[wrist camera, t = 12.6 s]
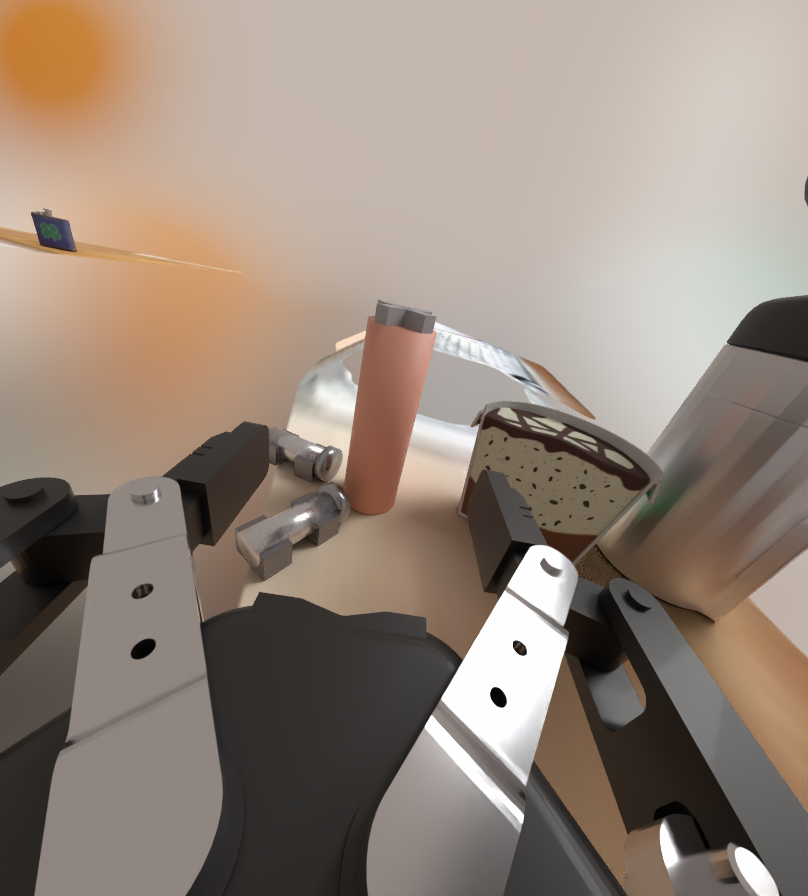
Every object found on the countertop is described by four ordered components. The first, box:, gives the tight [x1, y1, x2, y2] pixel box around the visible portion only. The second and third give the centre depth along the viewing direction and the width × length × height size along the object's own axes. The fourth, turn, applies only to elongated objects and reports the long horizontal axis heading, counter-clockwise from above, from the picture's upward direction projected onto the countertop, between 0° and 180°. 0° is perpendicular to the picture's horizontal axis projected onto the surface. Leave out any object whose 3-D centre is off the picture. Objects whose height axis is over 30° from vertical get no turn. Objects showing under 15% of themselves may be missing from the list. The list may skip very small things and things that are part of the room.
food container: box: [457, 400, 663, 566], centre depth 25 cm, size 12×6×10 cm, turn 59°
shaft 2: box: [235, 482, 351, 581], centre depth 20 cm, size 7×3×3 cm, turn 142°
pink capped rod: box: [344, 300, 437, 515], centre depth 22 cm, size 4×4×15 cm
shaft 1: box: [269, 427, 342, 482], centre depth 27 cm, size 7×3×3 cm, turn 67°
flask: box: [31, 208, 77, 252], centre depth 98 cm, size 9×3×11 cm, turn 101°
